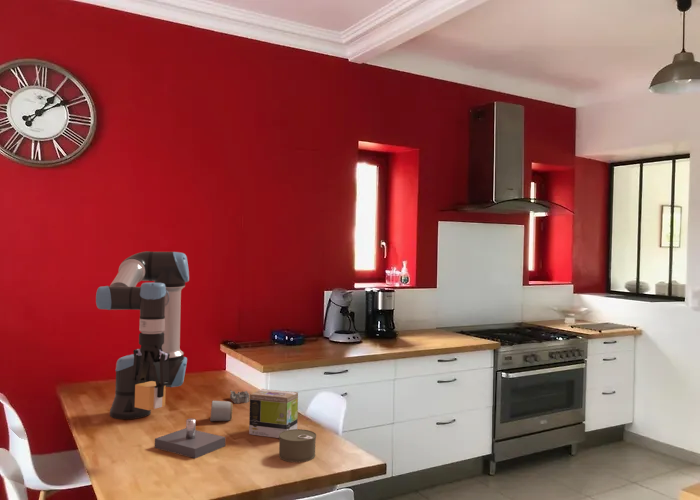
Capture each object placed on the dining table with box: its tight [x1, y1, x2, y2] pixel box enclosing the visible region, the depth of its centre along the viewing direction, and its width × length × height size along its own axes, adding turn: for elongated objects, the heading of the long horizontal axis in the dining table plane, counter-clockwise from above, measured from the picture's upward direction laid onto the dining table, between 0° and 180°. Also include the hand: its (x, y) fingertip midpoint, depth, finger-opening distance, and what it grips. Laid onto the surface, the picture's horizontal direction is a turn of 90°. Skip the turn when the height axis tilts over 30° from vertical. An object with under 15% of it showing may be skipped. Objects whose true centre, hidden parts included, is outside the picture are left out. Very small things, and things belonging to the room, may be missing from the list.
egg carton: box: [229, 389, 250, 404], centre depth 253 cm, size 11×8×4 cm
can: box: [278, 428, 317, 463], centre depth 185 cm, size 12×12×7 cm
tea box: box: [248, 388, 299, 439], centre depth 207 cm, size 15×10×15 cm, turn 71°
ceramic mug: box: [210, 400, 233, 422], centre depth 223 cm, size 11×8×8 cm
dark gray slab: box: [154, 427, 227, 459], centre depth 191 cm, size 18×14×3 cm
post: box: [185, 418, 197, 439], centre depth 191 cm, size 3×3×6 cm
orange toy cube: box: [135, 381, 167, 411], centre depth 179 cm, size 6×6×7 cm
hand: (149, 405), depth 179 cm, fingers closed on orange toy cube, 6 cm apart
